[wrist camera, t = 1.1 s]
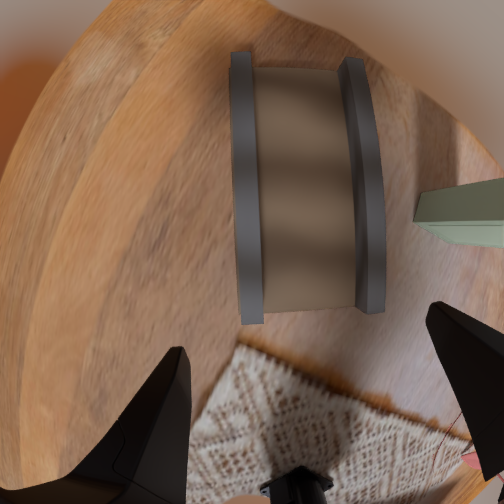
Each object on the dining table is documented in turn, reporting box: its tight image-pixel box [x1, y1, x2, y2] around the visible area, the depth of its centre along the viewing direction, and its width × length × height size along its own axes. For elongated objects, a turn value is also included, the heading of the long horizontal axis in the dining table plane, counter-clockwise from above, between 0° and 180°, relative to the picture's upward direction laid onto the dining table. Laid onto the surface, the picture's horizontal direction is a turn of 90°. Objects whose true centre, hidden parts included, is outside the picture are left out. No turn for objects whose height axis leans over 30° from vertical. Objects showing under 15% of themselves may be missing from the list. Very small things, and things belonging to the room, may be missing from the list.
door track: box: [229, 51, 386, 325], centre depth 21 cm, size 20×11×4 cm, turn 3°
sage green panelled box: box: [413, 178, 504, 248], centre depth 17 cm, size 3×5×12 cm, turn 69°
